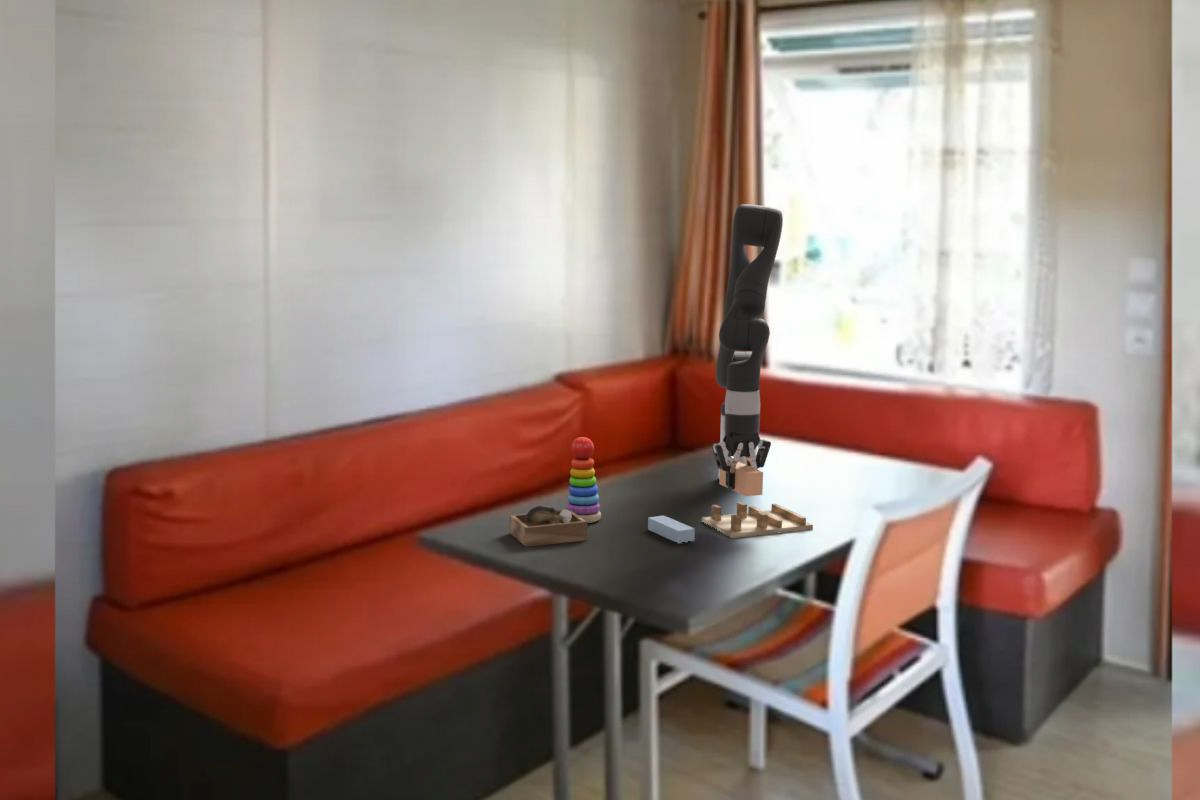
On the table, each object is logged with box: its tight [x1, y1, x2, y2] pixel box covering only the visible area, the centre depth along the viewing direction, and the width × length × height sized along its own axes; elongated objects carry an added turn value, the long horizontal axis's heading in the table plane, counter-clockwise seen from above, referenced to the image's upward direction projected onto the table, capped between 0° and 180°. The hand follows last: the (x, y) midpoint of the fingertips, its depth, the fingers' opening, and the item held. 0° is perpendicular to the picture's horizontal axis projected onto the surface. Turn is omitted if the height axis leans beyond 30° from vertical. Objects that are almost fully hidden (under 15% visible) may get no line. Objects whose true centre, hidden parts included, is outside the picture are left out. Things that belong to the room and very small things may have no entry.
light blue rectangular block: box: [647, 515, 696, 544], centre depth 256 cm, size 12×4×3 cm, turn 30°
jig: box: [701, 501, 814, 539], centre depth 264 cm, size 14×20×4 cm
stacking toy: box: [566, 436, 602, 524], centre depth 266 cm, size 8×8×19 cm
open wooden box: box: [509, 509, 588, 548], centre depth 254 cm, size 11×14×4 cm
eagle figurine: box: [525, 505, 572, 525], centre depth 253 cm, size 8×7×9 cm
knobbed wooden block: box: [718, 462, 764, 497], centre depth 260 cm, size 12×4×6 cm, turn 23°
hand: (740, 487), depth 261 cm, fingers closed on knobbed wooden block, 4 cm apart
